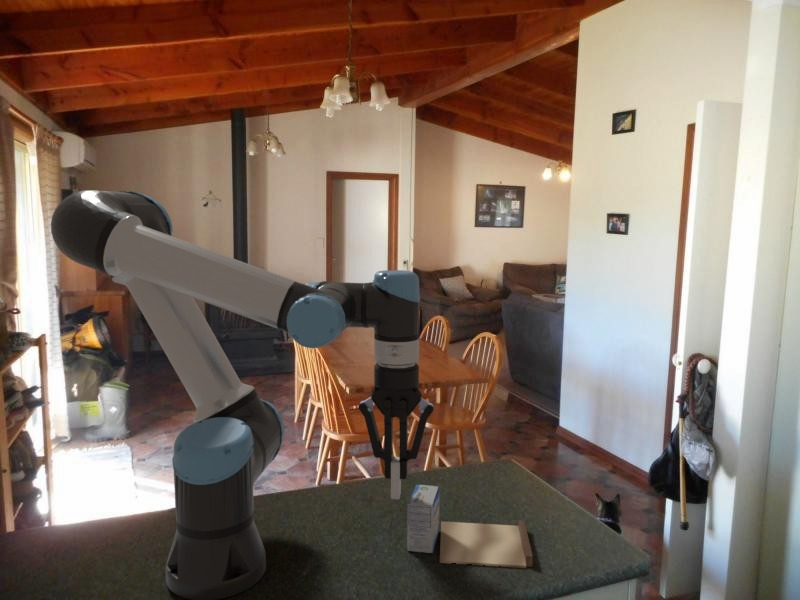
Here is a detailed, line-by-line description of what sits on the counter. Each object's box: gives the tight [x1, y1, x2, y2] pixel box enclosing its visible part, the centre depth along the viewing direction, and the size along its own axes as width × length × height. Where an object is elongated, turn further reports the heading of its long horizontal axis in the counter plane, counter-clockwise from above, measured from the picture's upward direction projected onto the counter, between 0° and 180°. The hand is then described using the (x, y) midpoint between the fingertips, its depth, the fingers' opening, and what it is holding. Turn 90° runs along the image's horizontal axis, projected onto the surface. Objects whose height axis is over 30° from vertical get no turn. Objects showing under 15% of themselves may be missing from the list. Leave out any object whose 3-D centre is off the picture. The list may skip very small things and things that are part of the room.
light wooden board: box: [439, 521, 527, 569], centre depth 108 cm, size 14×13×1 cm
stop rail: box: [517, 519, 534, 568], centre depth 107 cm, size 1×12×2 cm, turn 175°
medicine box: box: [406, 484, 441, 554], centre depth 108 cm, size 8×4×9 cm, turn 168°
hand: (395, 495), depth 108 cm, fingers closed
